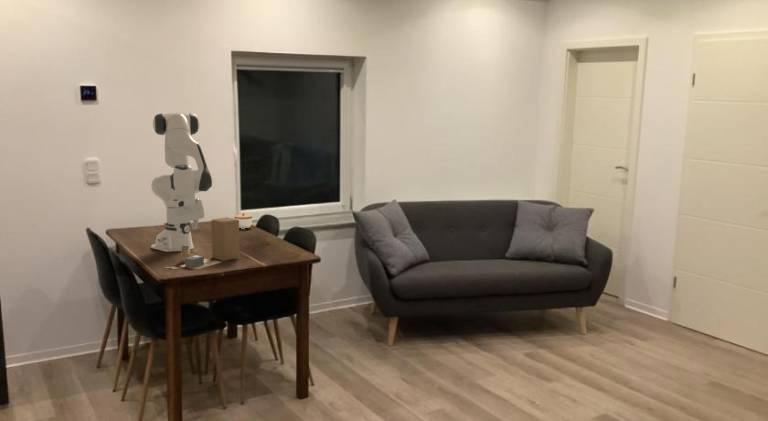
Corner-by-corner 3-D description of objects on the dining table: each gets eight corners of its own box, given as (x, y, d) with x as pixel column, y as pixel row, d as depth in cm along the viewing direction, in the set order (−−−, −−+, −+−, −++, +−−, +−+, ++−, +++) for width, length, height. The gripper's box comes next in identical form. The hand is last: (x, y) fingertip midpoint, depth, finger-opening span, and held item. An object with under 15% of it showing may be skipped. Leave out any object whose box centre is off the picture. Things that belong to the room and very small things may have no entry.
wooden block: (228, 255, 336) (227, 216, 333) (240, 259, 330) (239, 219, 327) (211, 259, 329) (210, 219, 326) (223, 262, 322) (222, 222, 319)
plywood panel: (178, 267, 311) (178, 265, 311) (203, 260, 325) (203, 258, 325) (198, 271, 306) (198, 269, 306) (222, 264, 320) (222, 261, 320)
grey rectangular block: (185, 266, 310) (184, 257, 309) (195, 263, 316) (195, 254, 315) (193, 268, 308) (192, 259, 307) (203, 264, 314) (203, 256, 313)
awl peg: (179, 264, 318) (178, 245, 317) (185, 262, 322) (185, 244, 320) (185, 265, 317) (185, 246, 315) (191, 263, 320) (191, 245, 319)
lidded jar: (252, 229, 403) (252, 214, 402) (234, 230, 401) (234, 214, 399) (252, 226, 414) (251, 211, 412) (234, 226, 411) (234, 211, 410)
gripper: (196, 197, 311) (197, 226, 314) (163, 203, 294) (165, 234, 296) (206, 198, 309) (208, 227, 311) (173, 204, 291) (176, 235, 293)
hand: (187, 231), depth 303 cm, fingers open, 8 cm apart
